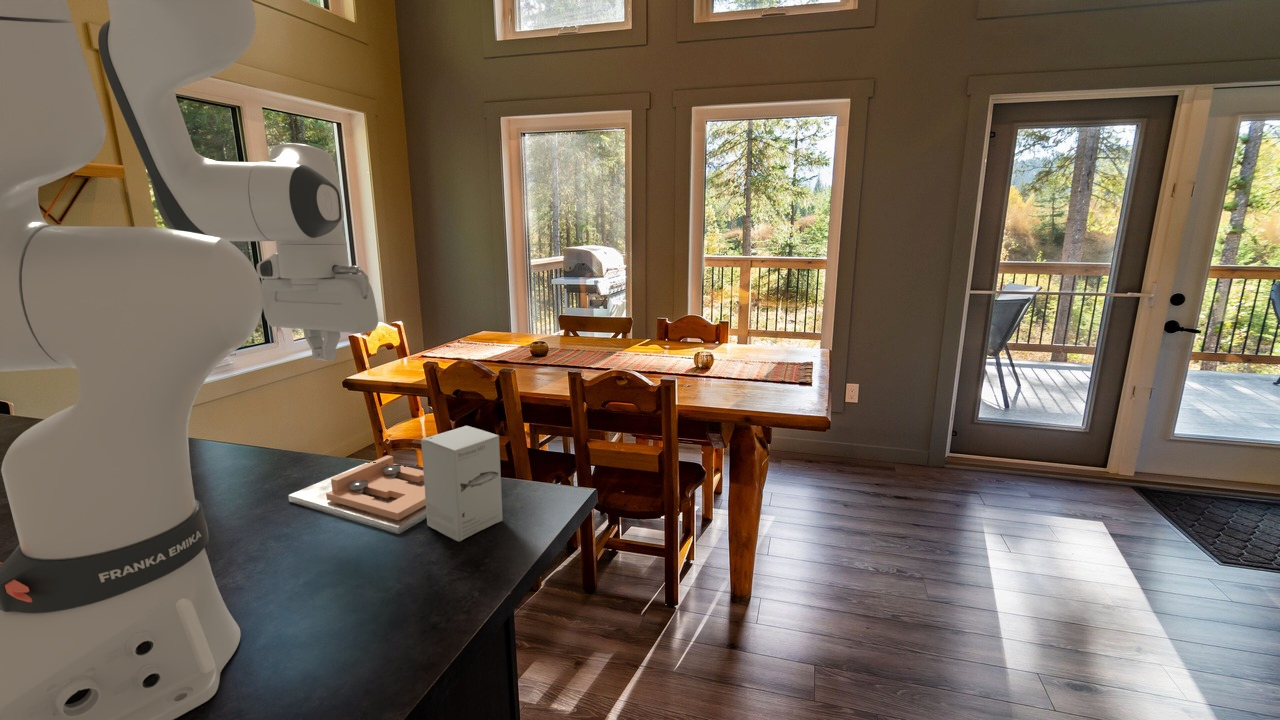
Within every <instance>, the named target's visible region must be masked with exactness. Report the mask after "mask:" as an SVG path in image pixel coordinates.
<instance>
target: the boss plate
mask: <svg viewBox="0 0 1280 720" xmlns="http://www.w3.org/2000/svg"><path fill="white" fill-rule="evenodd" d="M365 464H368V463H367V462H365V463H362V464H360V465H358V466H355V467H352V468H350V469H348V470H346V471H342V472H341V473H338V474H335V475H333V476H331V477H329V478H326V479H324V480H321V481H319V482H317V483H314V484H311V485H309V486H307V487H304V488H302V489H299V490H298V491H294V492H292V493H290V494H288V495H287V497H288V501H289V503H292V504H296V505H299V506H304V507H305V508H309V509H314V510H317V511H320V512H323V513H326V514H329V515H334V516H337V517H340V518H343V519H346V520H350V521H353V522H355V523H360V524H363V525H366V526H369V527H373V528H377V529H380V530H382V531H387V532H390V533H393V534H396V535H400V534H402V533H403V532H405V531H406V530H408V529H410V528H412V527H414V526H416V525H418V523H420V522H422V521H424V520H425V519H426V520H427V513H426V505H425V506H423V507H421V508H420V509H418V510H416V511H414V512H412V513H411V514H409V515H407V516H405V517H403V518H402V519H400V520H396V519H392V518H389V517H385V516H382V515H378V514H375V513H371V512H368V511H364V510H361V509H357V508H354V507H350V506H347V505H343V504H340V503H336V502H333V501H329V500H327V498H326V493H328V492H330V491H332V484H331V479H332V478H334V477H337V476H339V475H342V474H344V473H346V472H349V471H351V470H354V469H356V468H358V467H361V466H363V465H365ZM382 472H383V475H387V476H388V477H392V478H396V479H400V480H404V481H408V484H411V485H415V486H419V487H422V486H424V481H421V482H415V481H411V480H406V479H402V478H398V477H397V474H398V473H400V472H401V467H400V466H394V465H390V466H386V467H384V468H383V469H382ZM367 487H368V481H367V480H363V479H361V480H355V481H352V482H350V483H349V484H348V489H349V490H350V491H353V492H356V493H359V494H363V495H367V496H370V497H374V498H375V501H379V502H382V503H386V504H389V503H391V502H392V501H394V500H396V499H397V498H393V497H389V498H383V497H380V496H376V495H372V494H369V493H365V492H364V489H365V488H367Z"/></svg>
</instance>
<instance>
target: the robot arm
mask: <svg viewBox="0 0 1280 720" xmlns="http://www.w3.org/2000/svg"><path fill="white" fill-rule="evenodd" d="M106 2H107V6H108V10H109V11H108V12H109V20H107V21H106V22H105V23H103V24H102V26H100V29H99V31H98V36H97V37H98V38H97V41H98V43H97V44H98V51H99V55H100V60H101V63H102V67H103V70H104V72H105V74H106V78H107V81H108V83H109V86H110V88H111V90H112V93H113V96H114V98H115V100H116V103H117V105H118V107H119V109H120V112H121V114H122V117H123V118H124V121H125V123H126V125H127V128H128V130H129V134H130V136H131V137H132V139H133V142H134V144H135V147H136V148H137V151H138V153H139V156H140V158H141V160H142V162H143V165H144V167H145V169H146V171H147V174H148V177H149V180H150V183H151V187H152V192H153V197H154V200H155V204H156V207H157V210H158V213H159V215H160V218H161V219H162V220H163V222H165V223H164V224H166V225H167V226H168V227H169V228H165V227H159V226H95V225H94V226H89V225H88V226H87V225H86V226H83V225H81V226H80V225H79V226H78V225H77V226H75V225H72V226H71V225H70V226H69V225H66V226H64V225H56V224H48V223H47V221H46V220H45V218H44V216H43V214H42V212H41V209H40V204H39V188H40V187H43V186H46V185H48V184H50V183H53V182H56V181H57V180H60V179H62V178H64V177H66V176H69V175H71V174H72V173H74V172H77V171H78V170H80V169H82V168H84V167H85V166H87V165H88V164H91V162H92V161H93V160H95V159H96V158H97V156H98V155H99V154H100V152H101V150H102V149H103V147H104V143H105V141H106V134H107V123H106V120H105V117H104V114H103V110H102V108H101V105H100V101H99V98H98V95H97V92H96V89H95V87H94V82H93V80H92V77H91V76H92V75H91V73H90V70H89V68H88V64H87V61H86V57H85V54H84V51H83V48H82V44H81V43H80V40H79V36H78V33H77V30H76V26H75V22H74V21H73V20H72V19H73V17H72V13H71V11H70V8H69V4H68V2H67V0H0V372H1V373H3V372H17V371H34V370H37V371H38V370H51V369H66V368H67V369H75V370H76V372H77V376H78V381H79V382H78V393H77V394H78V396H77V399H76V402H75V403H74V404H73V405H70V406H68V407H66V408H64V409H62V410H60V411H58V412H56V413H54V414H53V415H50V416H48V417H47V418H45V419H43V420H41V421H39V422H38V423H35V424H33V425H32V426H30V427H29V428H28V429H26V430H25V431H23V432H22V433H21V434H20V435H19V436H18V437H16V439H15V440H14V441H13V442H12V443H11V445H10V446H9V448H8V449H7V451H6V453H5V455H4V458H3V460H2V464H1V469H0V472H1V475H2V479H3V483H4V488H5V492H6V496H7V499H8V503H9V507H10V511H11V514H12V515H11V516H12V520H13V523H14V527H15V531H16V535H17V539H18V542H19V544H18V545H17V546H16V548H15V549H14V551H13V552H12V553H11V554H10V555H9V556H8V557H7V559H6V560H4V561H3V562H0V720H175V719H177V718H179V717H181V716H182V715H185V714H186V713H188V712H189V711H192V710H194V709H195V708H197V707H199V706H201V705H202V704H204V703H206V702H208V701H209V700H211V698H213V696H215V695H216V693H217V691H218V689H219V685H220V679H221V672H222V670H223V669H224V667H225V666H226V665H227V663H228V662H229V660H230V659H231V658H232V656H233V655H234V654H235V652H236V650H237V648H238V646H239V643H240V641H241V636H242V635H241V633H242V632H241V629H240V627H239V624H238V623H237V622H236V620H235V619H234V617H233V616H232V614H231V613H230V611H229V609H228V608H227V606H226V603H225V601H224V600H223V597H222V594H221V593H220V590H219V588H218V585H217V582H216V579H215V577H214V574H213V571H212V568H211V567H212V566H211V563H210V561H209V557H208V556H209V555H210V553H211V552H210V551H211V546H210V545H211V544H210V540H209V529H208V524H207V521H206V519H205V518H206V517H205V514H204V508H203V505H202V503H201V502H200V501H199V500H197V499H196V498H195V492H194V491H195V490H194V486H193V479H192V470H191V462H190V461H191V460H190V446H189V445H190V444H189V423H190V417H191V413H192V409H193V405H194V403H195V400H196V398H197V395H198V393H199V391H200V389H201V388H202V386H203V384H204V383H205V381H206V380H207V378H209V376H210V375H211V373H212V372H213V371H214V369H216V367H218V366H219V364H220V363H221V362H223V361H224V360H225V359H226V358H227V357H229V355H231V354H233V352H235V351H236V350H238V349H239V348H240V347H242V345H244V344H245V343H246V342H247V341H248V339H250V338H251V336H252V335H253V333H254V331H256V328H257V326H258V324H259V323H260V320H261V317H262V315H263V313H264V318H265V320H266V322H267V323H268V325H269V326H270V327H271V328H282V329H297V330H298V329H299V330H303V336H304V339H305V341H306V342H307V344H308V345H309V347H310V349H311V353H312V354H311V355H312V359H313V360H315V361H324V362H325V361H326V362H331V361H335V360H336V359H337V349H336V348H337V347H338V344H339V342H340V338H341V333H351V334H361V333H369V332H374V331H376V329H377V327H378V324H379V315H378V308H377V304H376V299H375V295H374V291H373V288H372V285H371V283H370V281H369V276H368V274H366V272H365V271H364V270H363V269H362V268H361V267H360V266H357V265H349V263H350V262H349V254H348V245H347V244H348V243H347V239H346V238H345V234H344V232H343V220H344V216H345V215H344V204H343V203H344V202H343V197H342V196H343V195H342V190H341V185H340V181H339V176H338V172H337V168H336V164H335V162H334V158H333V156H332V155H331V154H330V153H329V152H328V151H326V150H324V149H322V148H320V147H317V146H314V145H309V144H304V143H299V142H285V143H280V144H276V145H274V146H273V147H272V148H271V151H270V156H269V160H268V161H257V162H256V161H253V162H251V161H220V160H214V159H210V158H208V157H205V156H204V155H201V154H200V153H198V152H197V151H196V150H195V148H194V145H193V142H192V139H191V137H190V133H189V131H188V128H187V125H186V122H185V119H184V116H183V114H182V110H181V108H180V107H181V106H180V105H179V103H178V100H177V95H176V91H177V90H179V89H182V88H184V87H186V86H188V85H191V84H193V83H197V82H200V81H203V80H205V79H208V78H211V77H214V76H216V75H218V74H220V73H222V72H223V71H226V70H227V69H229V68H230V67H232V65H234V64H235V63H236V62H238V61H239V60H240V59H241V58H242V57H243V56H244V55H245V53H247V51H248V49H249V48H250V46H251V45H252V42H253V40H254V37H255V35H256V34H255V33H256V27H257V20H256V19H257V17H256V12H255V8H254V5H253V0H106ZM232 242H275V246H276V252H274V253H273V254H271V255H270V256H269V257H267V258H265V259H264V260H261V261H260V262H259V263H257V264H256V269H255V267H254V265H253V263H252V262H251V261H250V259H249V258H248V257H247V256H246V254H245V253H243V251H242V250H240V249H239V248H238V247H237V246H236V245H235V244H233V243H232ZM261 279H263V280H262V281H261Z"/></svg>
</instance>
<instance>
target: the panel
mask: <svg viewBox="0 0 1280 720" xmlns="http://www.w3.org/2000/svg"><path fill="white" fill-rule="evenodd" d="M369 462H370V463H368V464H365V465H363V466H361V467H358V468H356V469H354V470H351V471H349V472H346V473H344V474H342V475H339V476H337V477H334V478H332V479H331V484H332V491H330V492H328V493H326V498H327V500H329V501H333V502H336V503H340V504H343V505H347V506H350V507H354V508H357V509H361V510H364V511H368V512H371V513H375V514H378V515H382V516H385V517H389V518H392V519H396V520H400V519H402V518H403V517H405V516H407V515H409V514H411V513H412V512H414V511H416V510H418V509H420V508H421V507H423V506H425V505H426V500H425V486H422V487H419V486H415V485H411V484H408V481H404V480H400V479H396V478H392V477H388V476H387V475H383V472H382V469H383V468H384V467H386V466H390V465H398V464H396V463H394V456H392V455H384V456H382V457H380V458H378V459H375V460H373V461H369ZM373 462H376V463H373ZM382 463H383V464H382ZM386 464H388V465H386ZM404 466H405V465H401V466H400V467H401V472H400V473H398V474H397V477H398V478H402V479H406V480H411V481H415V482H421V481H424V472H423V469H418V468H415V467H410V466H406V467H404ZM361 479H363V480H367V481H368V487H367V488H365V489H364V492H365V493H369V494H372V495H376V496H380V497H383V498H389V497H393V498H397V499H396V500H394V501H392V502H391V503H389V504H386V503H382V502H379V501H375V498H374V497H370V496H367V495H363V494H359V493H356V492H353V491H350V490H349V489H348V484H349V483H350V482H352V481H355V480H361Z"/></svg>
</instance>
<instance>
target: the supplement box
mask: <svg viewBox="0 0 1280 720" xmlns="http://www.w3.org/2000/svg"><path fill="white" fill-rule="evenodd" d="M420 443H421V444H420V445H421V457H422V458H421V459H422V470H423V472H424V486H425V500H426V513H427V518H426V525H427V526H428V527H429V528H431V529H433V530H435V531H437V532H439V533H440V534H443V536H446V537H448V538H450V539H452V540H454V541H456V542H459V543H460V542H462V541H464V540H465V539H466V538H468V537H471V536H473V535H475V534H476V533H478V532H481V531H483V530H485V529H487V528H489V527H491V526H493V525H495V524H499V523H500V522H503V519H504V518H503V517H504V516H503V499H502V498H503V497H502V495H503V494H502V493H503V492H502V477H501V474H502V473H501V456H500V455H501V453H500V435H499V434H495V433H492V432H489V431H486V430H484V429H480V428H476V427H472V426H469V425H464V426H461V427H457V428H454V429H451V430H447V431H444V432H441V433H438V434H433V435H431V436H428V437H423V438H421V439H420Z"/></svg>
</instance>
